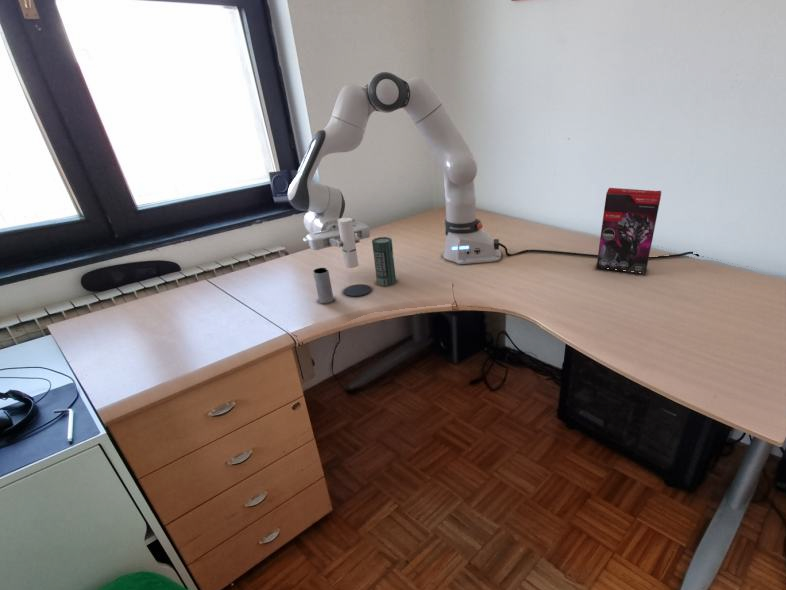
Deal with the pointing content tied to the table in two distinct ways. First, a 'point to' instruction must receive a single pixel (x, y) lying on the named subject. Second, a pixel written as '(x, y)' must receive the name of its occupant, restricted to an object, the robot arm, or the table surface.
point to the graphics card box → (627, 229)
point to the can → (384, 261)
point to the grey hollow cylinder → (323, 285)
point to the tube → (348, 242)
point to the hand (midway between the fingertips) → (349, 242)
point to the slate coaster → (357, 290)
